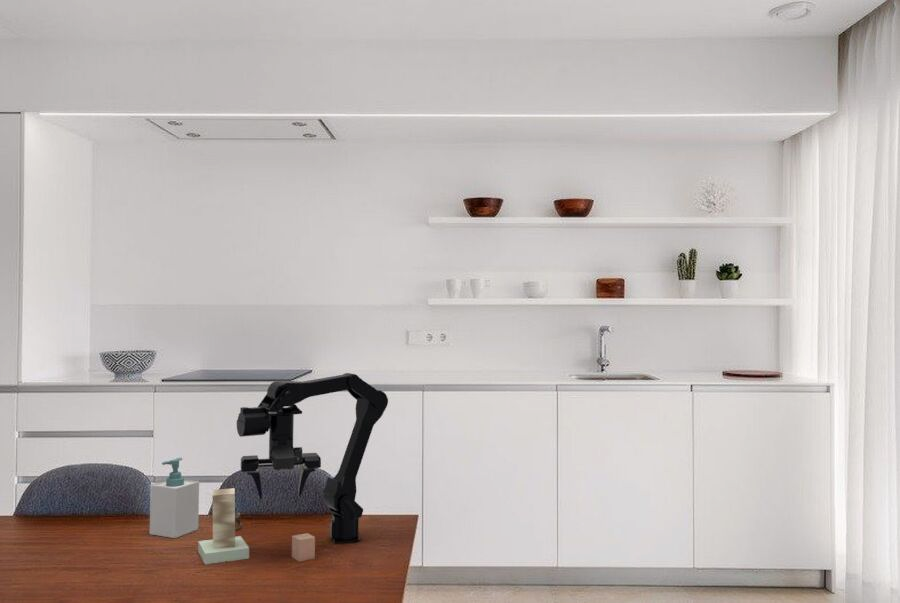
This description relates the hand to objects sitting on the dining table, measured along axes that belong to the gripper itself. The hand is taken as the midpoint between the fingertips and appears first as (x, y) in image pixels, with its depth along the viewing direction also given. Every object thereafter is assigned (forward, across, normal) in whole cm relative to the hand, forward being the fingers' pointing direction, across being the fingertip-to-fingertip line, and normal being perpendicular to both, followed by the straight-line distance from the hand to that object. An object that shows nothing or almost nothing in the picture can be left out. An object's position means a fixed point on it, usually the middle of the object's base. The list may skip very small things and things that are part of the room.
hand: (280, 497), depth 178 cm
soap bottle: (+13, -25, +23) cm, 36 cm away
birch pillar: (+10, -13, +1) cm, 17 cm away
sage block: (+14, -13, +1) cm, 19 cm away
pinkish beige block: (+13, +5, -6) cm, 15 cm away
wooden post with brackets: (+13, -12, +20) cm, 26 cm away
